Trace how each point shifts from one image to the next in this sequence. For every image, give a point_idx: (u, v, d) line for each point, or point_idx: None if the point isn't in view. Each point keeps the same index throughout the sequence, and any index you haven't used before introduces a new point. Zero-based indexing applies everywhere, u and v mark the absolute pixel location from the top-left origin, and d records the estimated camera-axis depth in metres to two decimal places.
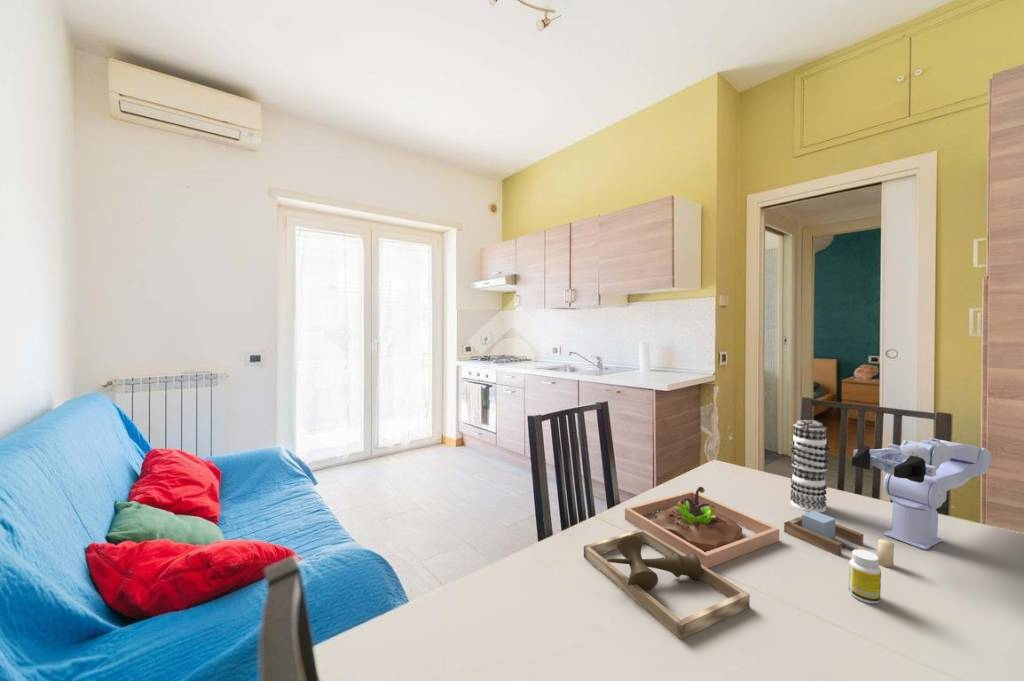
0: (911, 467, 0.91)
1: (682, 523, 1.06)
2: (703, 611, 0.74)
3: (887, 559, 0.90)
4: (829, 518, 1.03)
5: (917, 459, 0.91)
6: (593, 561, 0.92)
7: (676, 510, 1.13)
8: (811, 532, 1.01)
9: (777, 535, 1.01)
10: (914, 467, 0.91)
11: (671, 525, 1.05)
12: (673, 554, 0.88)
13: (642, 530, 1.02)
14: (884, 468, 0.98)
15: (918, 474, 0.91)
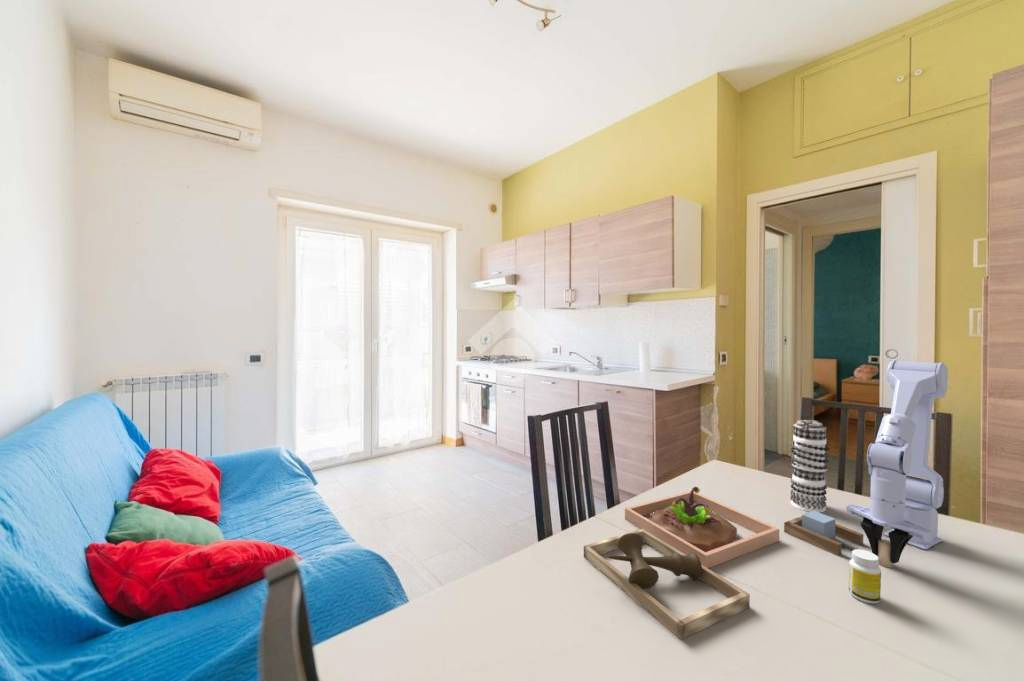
0: None
1: (677, 523, 1.06)
2: (703, 611, 0.74)
3: (887, 559, 0.90)
4: (829, 518, 1.03)
5: (898, 540, 0.88)
6: (593, 561, 0.92)
7: (671, 510, 1.14)
8: (811, 532, 1.01)
9: (777, 535, 1.01)
10: None
11: (665, 525, 1.05)
12: (674, 553, 0.88)
13: (642, 530, 1.02)
14: None
15: None
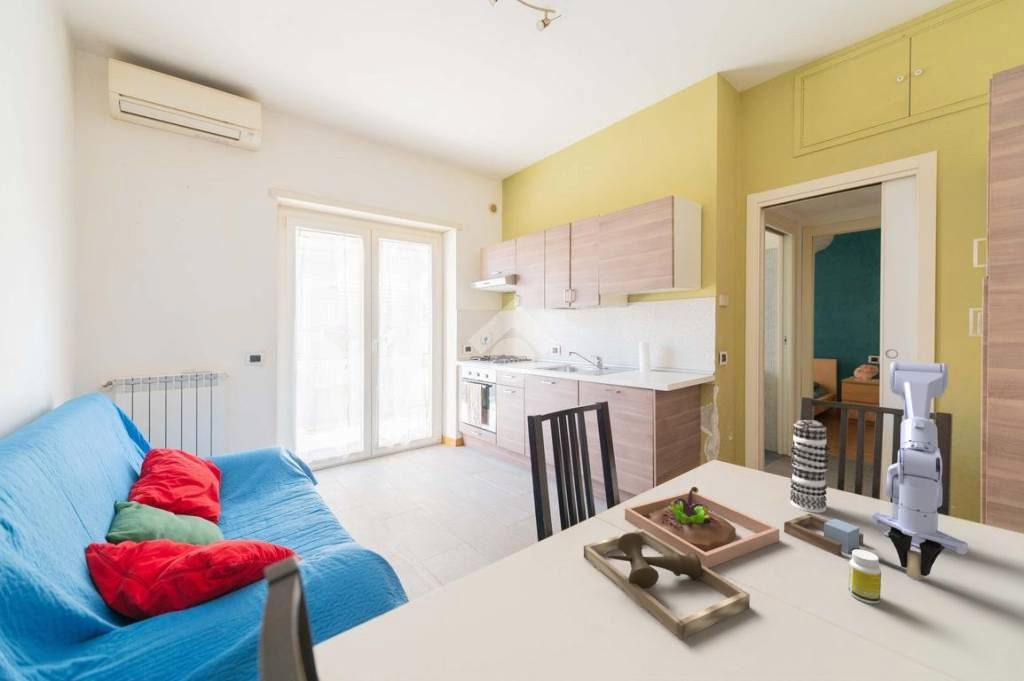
0: None
1: (675, 523, 1.06)
2: (703, 611, 0.74)
3: (917, 571, 0.86)
4: (853, 527, 0.98)
5: (929, 552, 0.83)
6: (593, 561, 0.92)
7: (670, 510, 1.13)
8: (811, 532, 1.01)
9: (777, 535, 1.01)
10: None
11: (664, 525, 1.05)
12: (674, 553, 0.88)
13: (642, 530, 1.02)
14: None
15: None
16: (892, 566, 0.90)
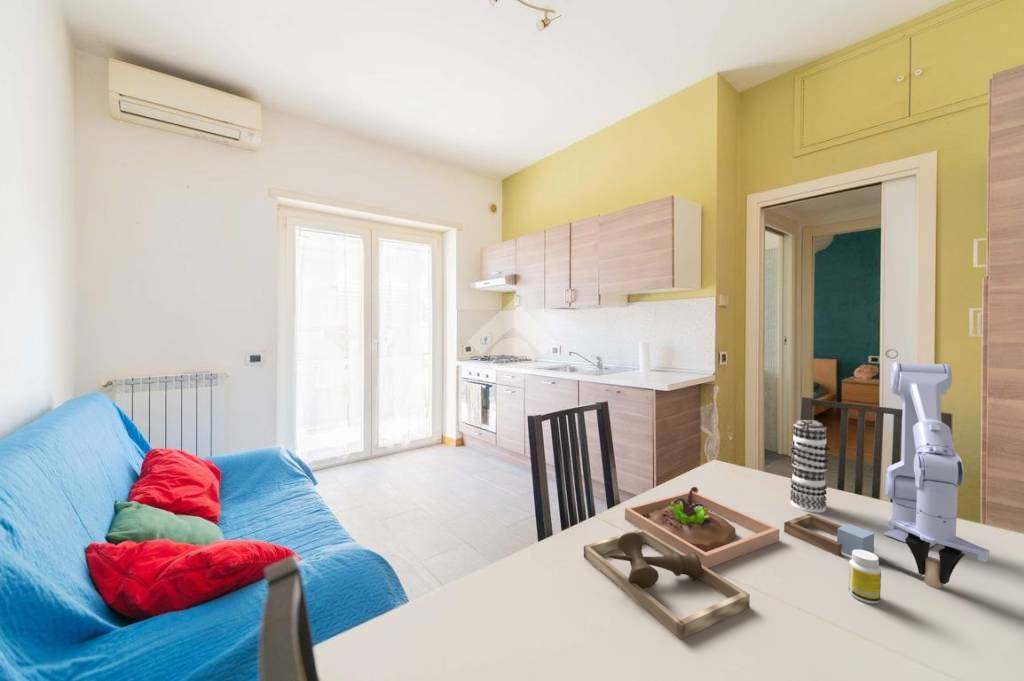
0: None
1: (675, 523, 1.06)
2: (703, 611, 0.74)
3: (936, 579, 0.83)
4: (867, 532, 0.95)
5: (949, 559, 0.80)
6: (593, 561, 0.92)
7: (670, 510, 1.14)
8: (811, 532, 1.01)
9: (777, 535, 1.01)
10: None
11: (664, 525, 1.05)
12: (674, 553, 0.88)
13: (642, 530, 1.02)
14: None
15: None
16: (909, 573, 0.88)
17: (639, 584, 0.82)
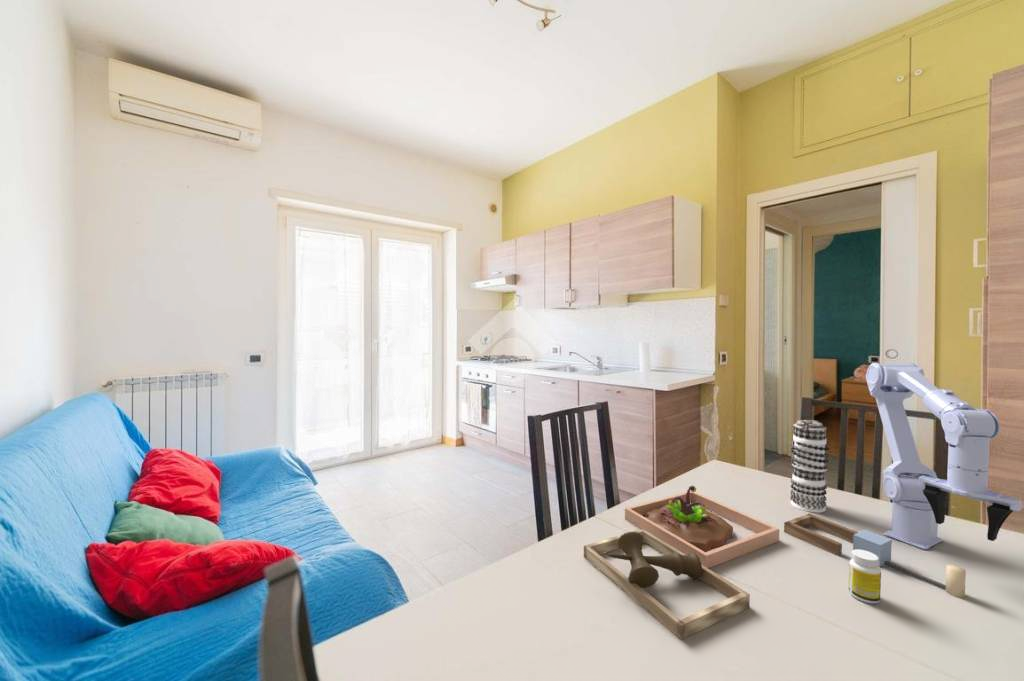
0: None
1: (673, 522, 1.07)
2: (703, 611, 0.74)
3: (958, 588, 0.81)
4: (884, 539, 0.93)
5: (998, 515, 0.81)
6: (593, 561, 0.92)
7: (668, 509, 1.14)
8: (811, 532, 1.01)
9: (777, 535, 1.01)
10: None
11: (662, 523, 1.06)
12: (674, 553, 0.88)
13: (642, 530, 1.02)
14: None
15: None
16: (929, 582, 0.85)
17: (639, 583, 0.82)
